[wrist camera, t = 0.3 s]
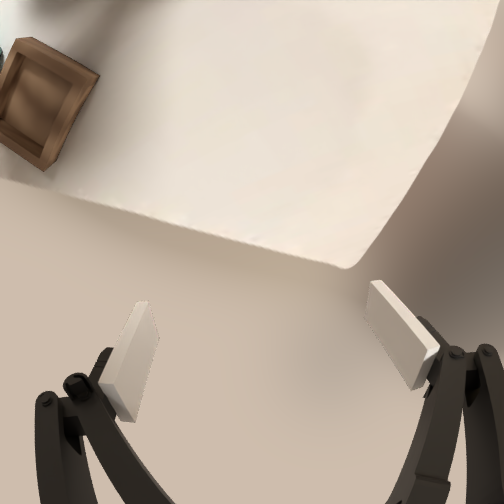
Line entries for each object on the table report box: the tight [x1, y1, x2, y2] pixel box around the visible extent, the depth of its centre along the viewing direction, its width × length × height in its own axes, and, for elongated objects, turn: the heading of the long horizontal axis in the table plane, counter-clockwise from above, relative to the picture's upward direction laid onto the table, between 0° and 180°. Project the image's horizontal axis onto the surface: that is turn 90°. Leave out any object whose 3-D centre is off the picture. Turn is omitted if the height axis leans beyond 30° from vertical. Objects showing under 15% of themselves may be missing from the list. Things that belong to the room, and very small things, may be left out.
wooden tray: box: [0, 37, 100, 172], centre depth 26 cm, size 15×15×4 cm
